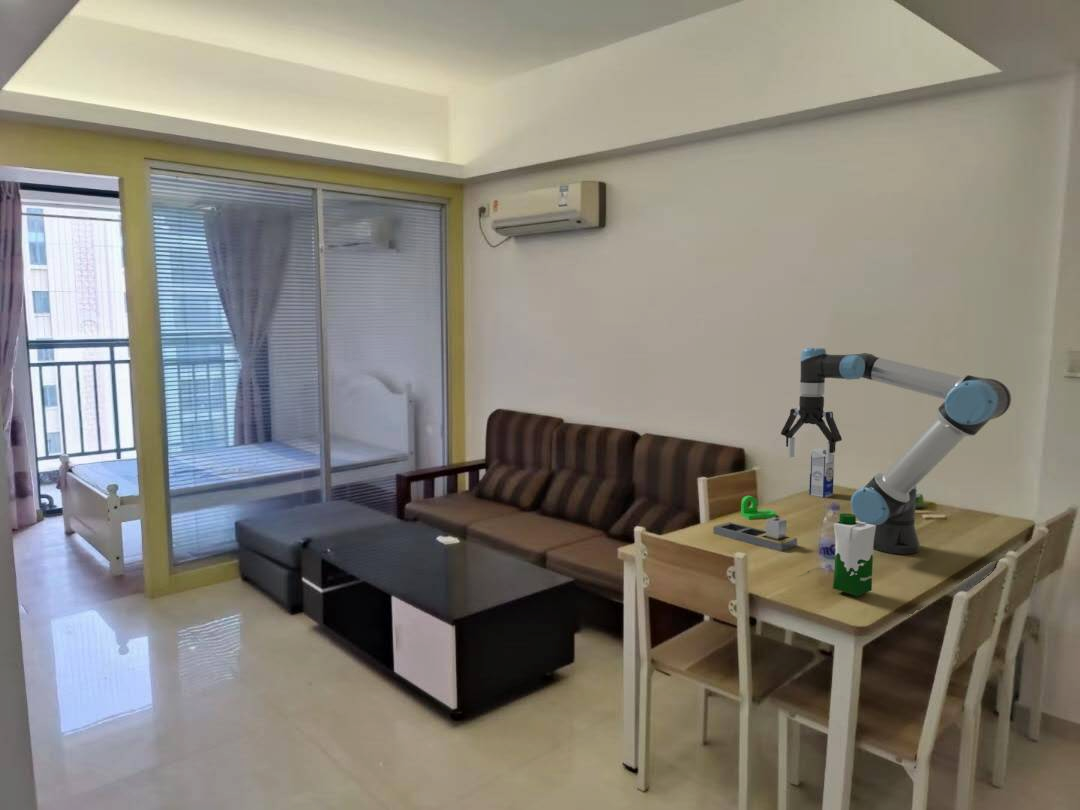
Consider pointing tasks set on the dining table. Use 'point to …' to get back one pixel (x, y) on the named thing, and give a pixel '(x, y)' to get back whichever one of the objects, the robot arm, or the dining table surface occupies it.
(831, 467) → the milk carton
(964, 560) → the dining table surface
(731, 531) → the grey slotted tray
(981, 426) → the robot arm
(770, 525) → the block
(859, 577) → the soya milk
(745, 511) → the mechanical part
